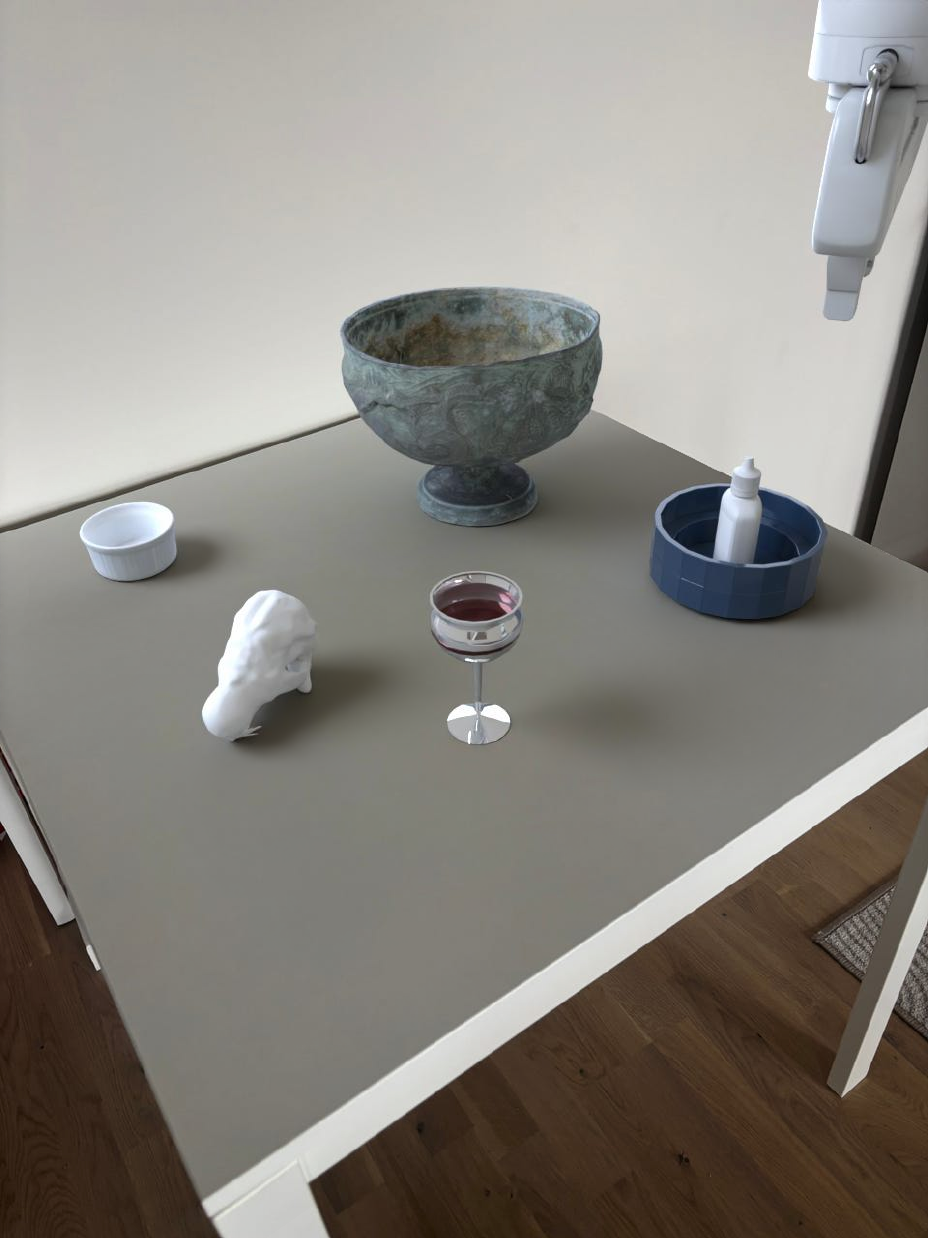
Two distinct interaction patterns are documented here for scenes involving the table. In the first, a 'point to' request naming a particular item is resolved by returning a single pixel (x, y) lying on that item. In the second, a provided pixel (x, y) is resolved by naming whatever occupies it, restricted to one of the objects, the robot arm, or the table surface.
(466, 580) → the wineglass
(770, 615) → the blue bowl
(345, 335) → the decorative bowl
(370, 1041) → the table surface
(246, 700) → the white lumpy figure
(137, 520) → the ramekin
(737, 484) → the eye dropper bottle
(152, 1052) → the table surface
